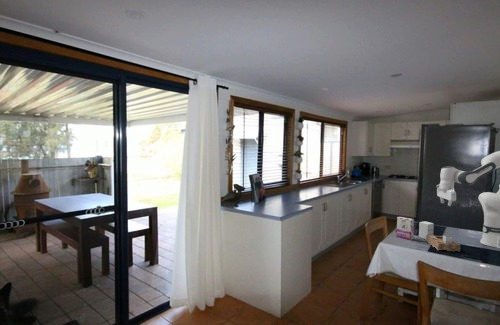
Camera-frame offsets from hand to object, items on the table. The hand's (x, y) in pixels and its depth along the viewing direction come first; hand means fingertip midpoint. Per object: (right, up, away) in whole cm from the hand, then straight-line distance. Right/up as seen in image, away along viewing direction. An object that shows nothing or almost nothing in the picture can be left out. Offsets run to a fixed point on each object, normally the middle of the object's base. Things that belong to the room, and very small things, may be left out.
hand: (445, 204), depth 205 cm
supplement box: (-10, -29, +9) cm, 32 cm away
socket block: (-10, -30, -10) cm, 33 cm away
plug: (-10, -30, -14) cm, 35 cm away
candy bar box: (-27, -29, +9) cm, 41 cm away
